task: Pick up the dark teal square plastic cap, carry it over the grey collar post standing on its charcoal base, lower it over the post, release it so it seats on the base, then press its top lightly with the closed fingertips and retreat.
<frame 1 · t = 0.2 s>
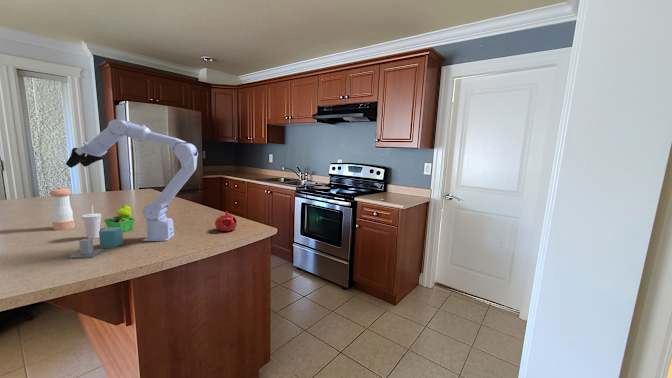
hand: (76, 165, 109), 31 cm above the countertop, tool tilted 45°, fingers open, 7 cm apart
salt shaker: (64, 228, 128), on the countertop
cap: (112, 245, 109), on the countertop
smoothie: (93, 237, 117), on the countertop
pomegranate: (226, 230, 134), on the countertop
post: (87, 254, 100), on the countertop
fruit basket: (121, 230, 129), on the countertop
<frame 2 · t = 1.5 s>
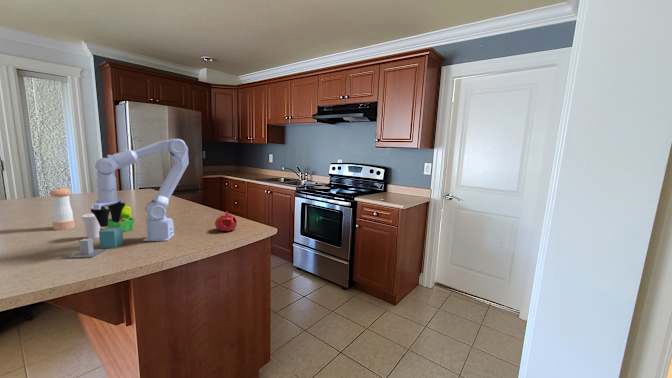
hand: (110, 223, 108), 9 cm above the countertop, tool pointing down, fingers open, 7 cm apart
nothing on the countertop moved.
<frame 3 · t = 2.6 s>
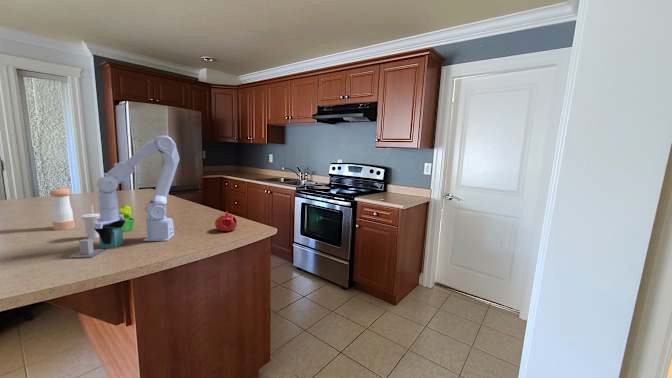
hand: (111, 241, 109), 2 cm above the countertop, tool pointing down, fingers closed on cap, 5 cm apart
cap: (112, 245, 109), on the countertop, touching gripper
everything else where it was.
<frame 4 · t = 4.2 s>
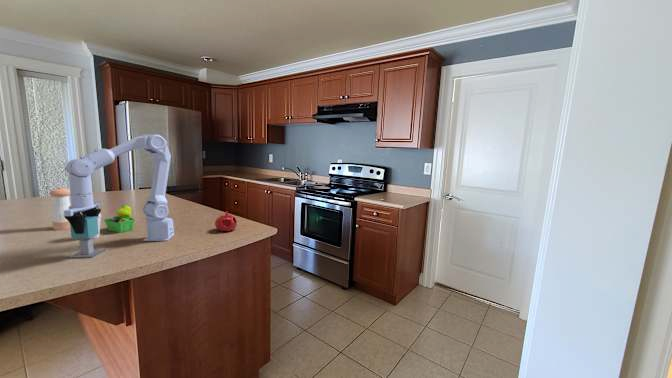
hand: (85, 231, 98), 9 cm above the countertop, tool pointing down, fingers closed on cap, 5 cm apart
cap: (85, 236, 99), point 7 cm above the countertop, touching gripper
everything else where it was.
when the fingers open (3 cm above the countertop, at t = 5.8 s): cap stays where it is, resting on post.
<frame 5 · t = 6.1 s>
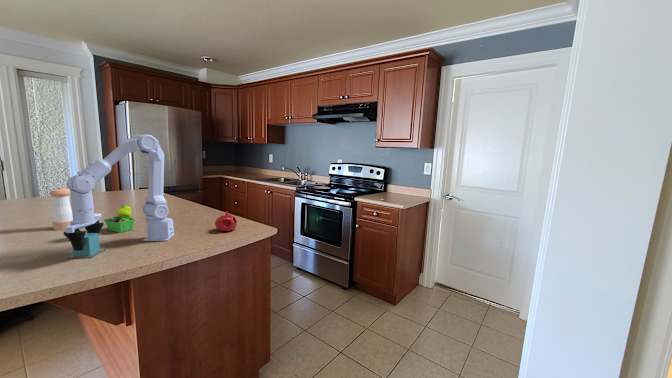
hand: (86, 246, 99), 3 cm above the countertop, tool pointing down, fingers open, 7 cm apart
cap: (86, 253, 100), resting on post
everything else where it was.
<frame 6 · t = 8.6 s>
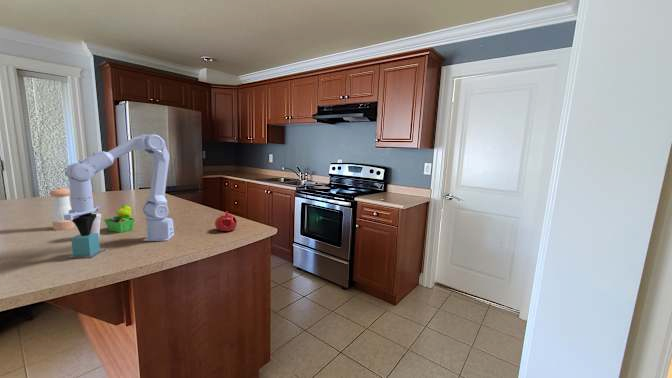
hand: (85, 235, 99), 7 cm above the countertop, tool pointing down, fingers closed
nothing on the countertop moved.
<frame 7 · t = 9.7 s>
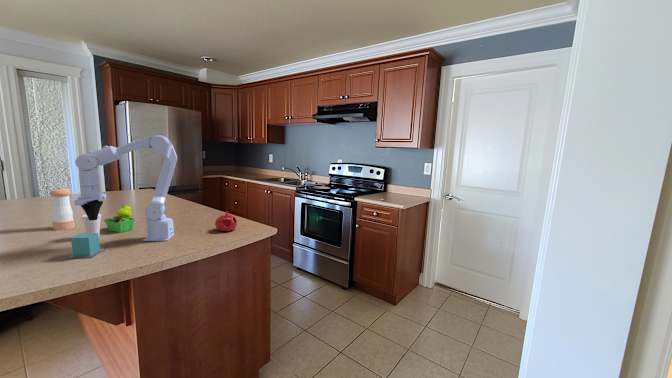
hand: (93, 219, 108), 10 cm above the countertop, tool pointing down, fingers closed
nothing on the countertop moved.
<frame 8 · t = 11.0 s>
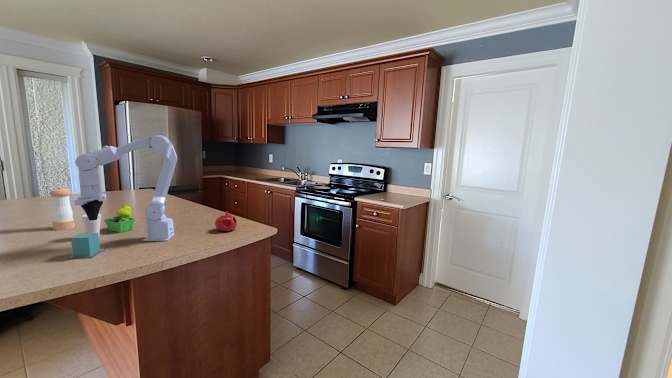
hand: (93, 219, 108), 10 cm above the countertop, tool pointing down, fingers closed
nothing on the countertop moved.
at the end: cap 0.1 cm from the post (horizontally); cap point 0.5 cm above the countertop; the gripper is holding nothing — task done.
